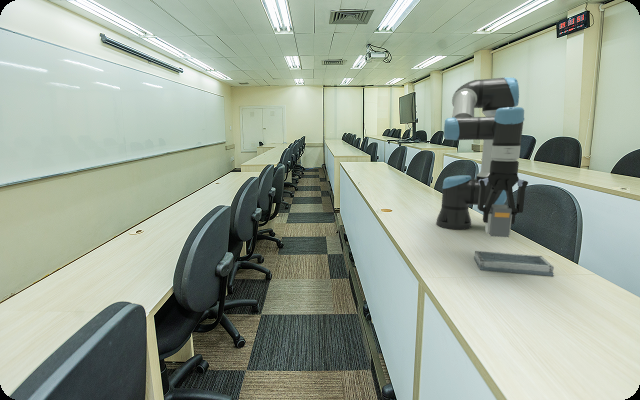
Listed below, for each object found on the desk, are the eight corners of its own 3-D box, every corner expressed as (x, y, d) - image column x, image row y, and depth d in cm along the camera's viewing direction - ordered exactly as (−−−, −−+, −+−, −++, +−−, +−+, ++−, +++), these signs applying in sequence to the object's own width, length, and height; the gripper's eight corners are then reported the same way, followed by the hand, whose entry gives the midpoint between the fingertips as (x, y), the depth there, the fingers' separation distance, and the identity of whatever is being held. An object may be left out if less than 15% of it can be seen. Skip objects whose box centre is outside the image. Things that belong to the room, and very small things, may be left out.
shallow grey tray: (473, 258, 110) (474, 250, 110) (539, 263, 105) (540, 255, 105) (480, 270, 101) (481, 261, 100) (553, 276, 96) (554, 267, 95)
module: (486, 230, 105) (488, 204, 104) (503, 231, 104) (505, 204, 102) (490, 236, 100) (493, 208, 98) (508, 237, 98) (511, 209, 97)
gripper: (475, 160, 96) (468, 234, 101) (543, 161, 91) (533, 238, 96) (470, 158, 103) (464, 228, 108) (533, 159, 98) (524, 231, 103)
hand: (497, 232), depth 102 cm, fingers closed on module, 5 cm apart
